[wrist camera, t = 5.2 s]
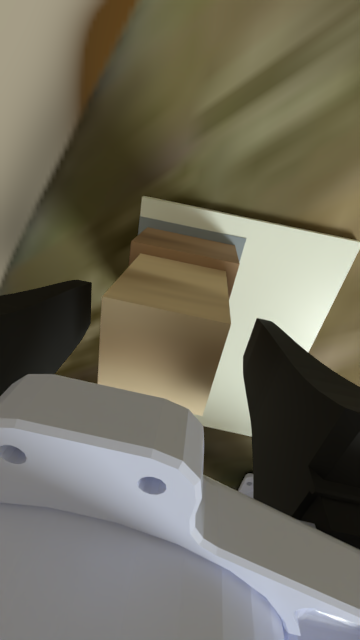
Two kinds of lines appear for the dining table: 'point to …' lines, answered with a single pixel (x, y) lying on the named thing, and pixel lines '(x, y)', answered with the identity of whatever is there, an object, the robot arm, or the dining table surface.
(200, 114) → the dining table surface
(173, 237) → the walnut base
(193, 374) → the maple pillar
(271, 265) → the cream flat slab
